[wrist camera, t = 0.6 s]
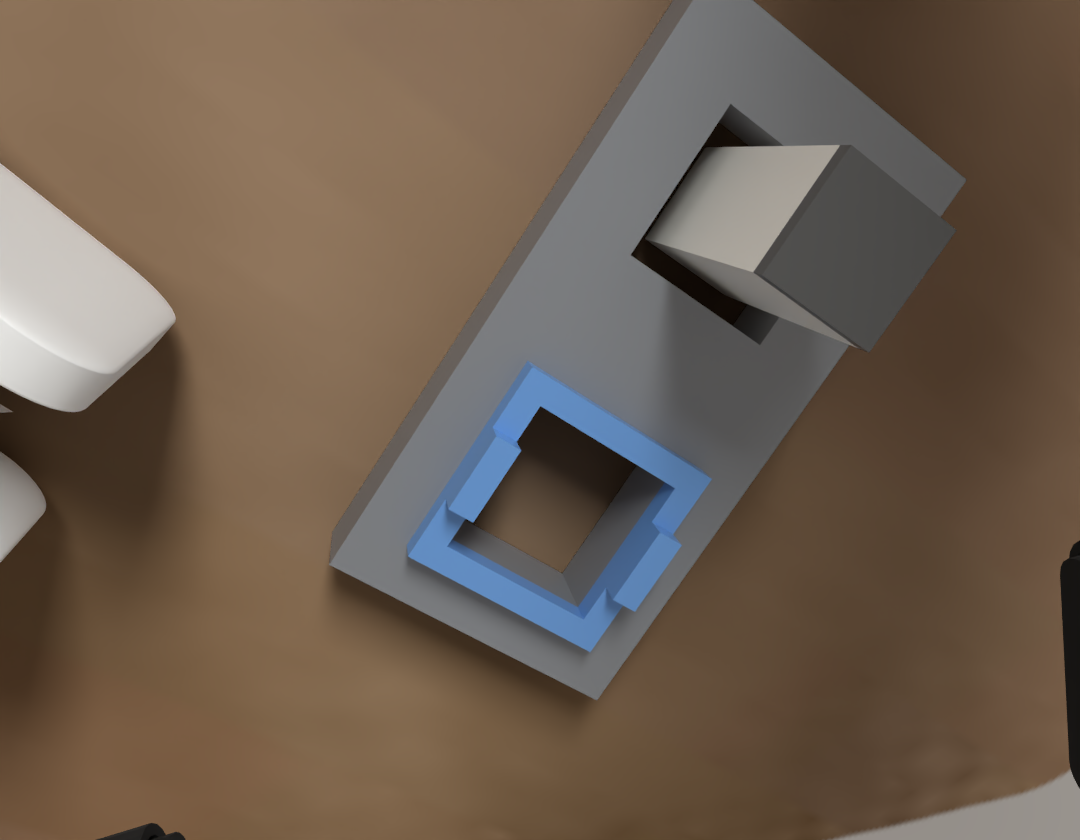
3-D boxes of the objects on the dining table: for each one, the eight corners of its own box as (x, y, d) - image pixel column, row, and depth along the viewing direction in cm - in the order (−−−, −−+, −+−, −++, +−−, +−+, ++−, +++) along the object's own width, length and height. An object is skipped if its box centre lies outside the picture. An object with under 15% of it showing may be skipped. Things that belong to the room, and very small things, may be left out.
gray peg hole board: (683, -17, 33) (737, -46, 28) (919, 177, 36) (1002, 181, 31) (332, 532, 36) (326, 589, 31) (580, 660, 39) (609, 730, 35)
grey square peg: (705, 147, 34) (851, 145, 24) (784, 207, 36) (956, 230, 25) (644, 238, 35) (761, 274, 25) (724, 295, 36) (869, 352, 26)
